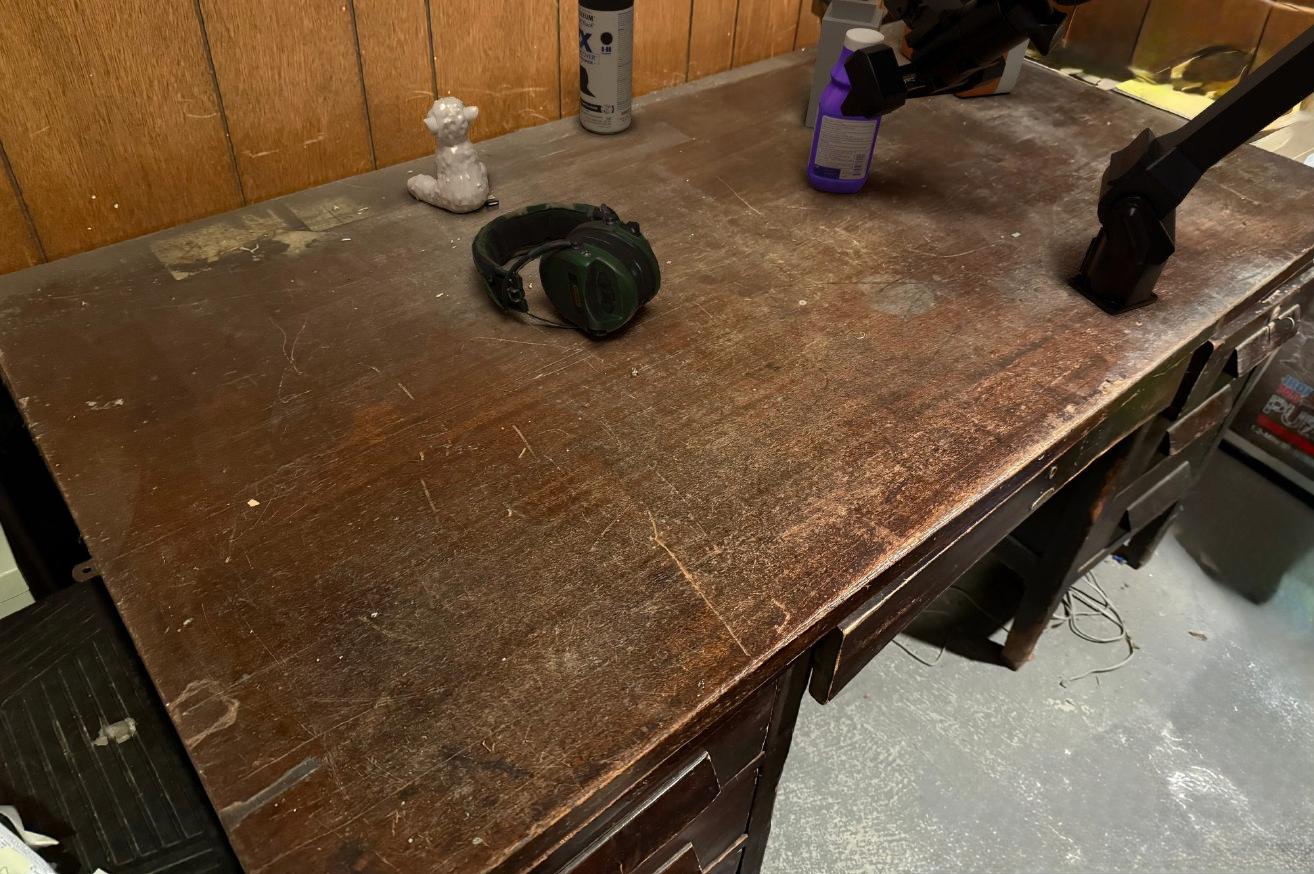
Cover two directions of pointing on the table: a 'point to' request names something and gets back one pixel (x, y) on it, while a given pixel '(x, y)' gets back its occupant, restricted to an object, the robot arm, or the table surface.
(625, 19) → the spray can
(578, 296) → the headphones
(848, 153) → the bottle
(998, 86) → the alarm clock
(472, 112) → the sitting furry creature
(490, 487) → the table surface
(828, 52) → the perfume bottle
